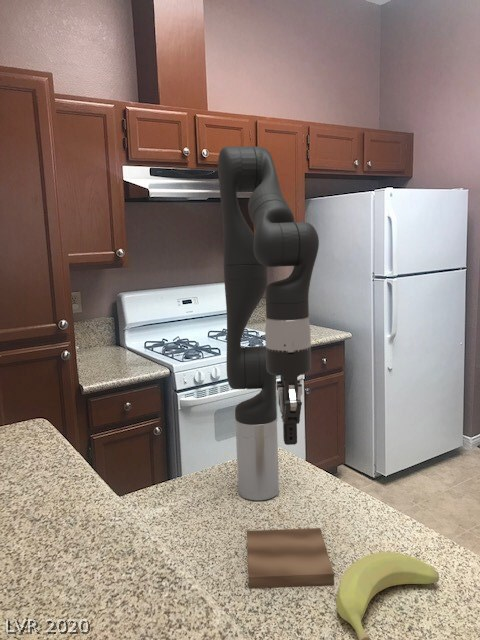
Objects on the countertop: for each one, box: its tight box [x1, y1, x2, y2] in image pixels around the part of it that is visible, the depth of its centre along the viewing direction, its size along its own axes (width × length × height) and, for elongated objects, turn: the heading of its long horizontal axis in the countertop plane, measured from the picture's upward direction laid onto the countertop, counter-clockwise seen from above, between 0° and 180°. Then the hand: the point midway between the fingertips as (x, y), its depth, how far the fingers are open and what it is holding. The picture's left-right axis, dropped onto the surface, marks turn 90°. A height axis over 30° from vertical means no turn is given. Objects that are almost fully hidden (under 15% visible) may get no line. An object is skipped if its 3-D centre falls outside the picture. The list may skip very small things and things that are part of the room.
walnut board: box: [246, 527, 335, 589], centre depth 93 cm, size 14×14×2 cm
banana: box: [335, 551, 440, 640], centre depth 80 cm, size 14×6×20 cm
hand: (290, 443), depth 90 cm, fingers closed
